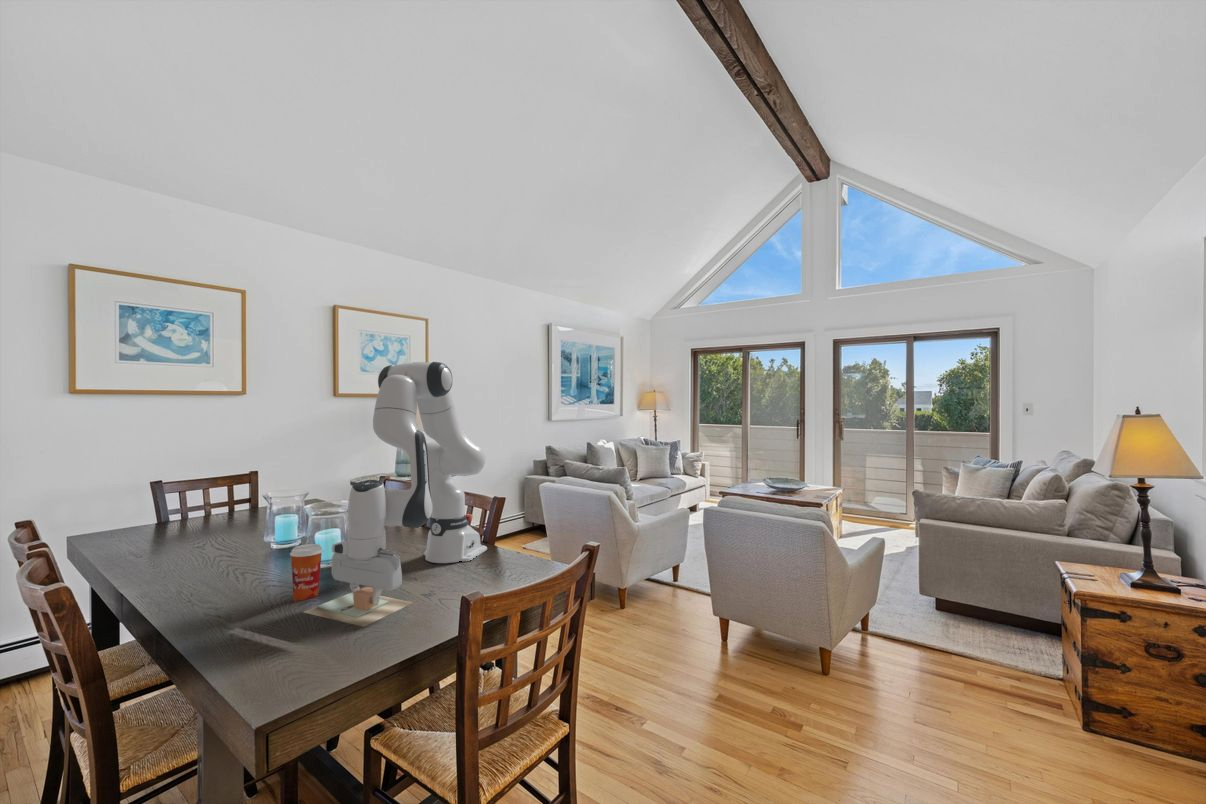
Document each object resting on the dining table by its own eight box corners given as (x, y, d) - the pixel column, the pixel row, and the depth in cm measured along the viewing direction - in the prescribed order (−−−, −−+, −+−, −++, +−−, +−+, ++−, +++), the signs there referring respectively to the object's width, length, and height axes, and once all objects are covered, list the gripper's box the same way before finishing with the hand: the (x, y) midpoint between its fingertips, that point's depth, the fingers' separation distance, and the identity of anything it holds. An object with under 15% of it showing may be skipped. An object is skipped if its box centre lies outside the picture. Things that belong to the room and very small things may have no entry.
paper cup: (285, 606, 135) (285, 552, 135) (294, 596, 143) (294, 544, 142) (318, 604, 137) (319, 550, 137) (326, 593, 145) (326, 542, 145)
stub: (374, 599, 137) (374, 582, 137) (388, 602, 135) (389, 585, 135) (341, 614, 128) (342, 595, 128) (357, 617, 126) (357, 598, 126)
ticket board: (356, 595, 144) (356, 588, 144) (413, 607, 136) (413, 600, 136) (302, 617, 129) (302, 609, 129) (363, 631, 121) (363, 623, 121)
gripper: (408, 548, 131) (407, 604, 131) (347, 538, 138) (347, 591, 139) (389, 555, 125) (388, 613, 125) (326, 544, 133) (326, 599, 133)
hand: (366, 601), depth 132 cm, fingers closed on stub, 4 cm apart
